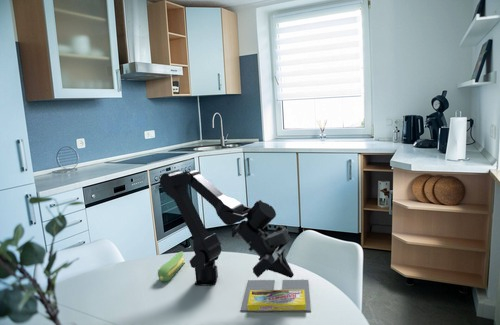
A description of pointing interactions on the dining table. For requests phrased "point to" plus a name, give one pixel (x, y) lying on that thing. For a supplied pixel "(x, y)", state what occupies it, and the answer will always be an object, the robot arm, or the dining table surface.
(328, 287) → the dining table surface
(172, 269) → the edible corn
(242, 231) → the robot arm
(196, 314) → the dining table surface
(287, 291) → the candy box
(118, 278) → the dining table surface
